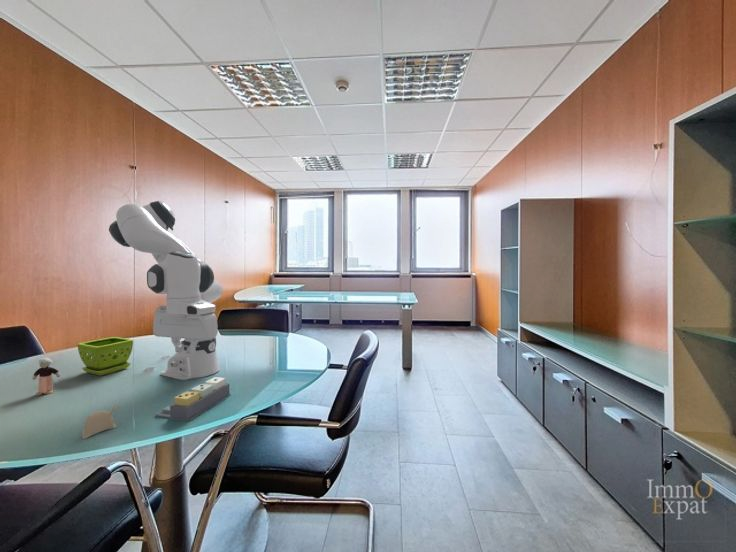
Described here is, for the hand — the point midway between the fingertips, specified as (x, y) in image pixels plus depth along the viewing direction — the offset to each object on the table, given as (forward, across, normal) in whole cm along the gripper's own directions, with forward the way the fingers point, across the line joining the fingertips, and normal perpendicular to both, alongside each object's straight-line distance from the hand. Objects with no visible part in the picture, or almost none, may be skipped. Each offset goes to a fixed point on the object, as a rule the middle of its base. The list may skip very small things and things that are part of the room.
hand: (185, 352), depth 91 cm
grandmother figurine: (+19, -60, +1) cm, 64 cm away
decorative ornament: (+19, -16, -12) cm, 28 cm away
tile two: (+17, 0, +6) cm, 18 cm away
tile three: (+16, 0, 0) cm, 16 cm away
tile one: (+16, 0, +12) cm, 20 cm away
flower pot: (+19, -64, +23) cm, 70 cm away
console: (+19, -2, +6) cm, 20 cm away
